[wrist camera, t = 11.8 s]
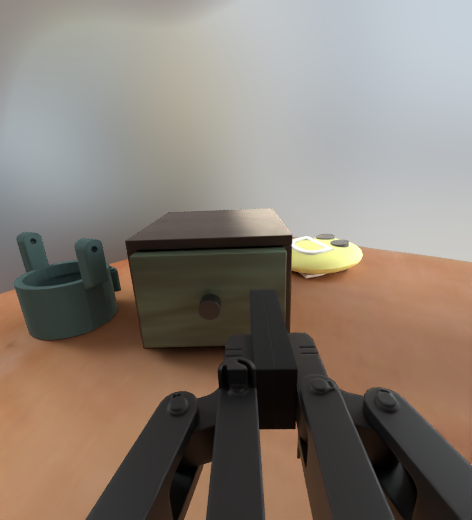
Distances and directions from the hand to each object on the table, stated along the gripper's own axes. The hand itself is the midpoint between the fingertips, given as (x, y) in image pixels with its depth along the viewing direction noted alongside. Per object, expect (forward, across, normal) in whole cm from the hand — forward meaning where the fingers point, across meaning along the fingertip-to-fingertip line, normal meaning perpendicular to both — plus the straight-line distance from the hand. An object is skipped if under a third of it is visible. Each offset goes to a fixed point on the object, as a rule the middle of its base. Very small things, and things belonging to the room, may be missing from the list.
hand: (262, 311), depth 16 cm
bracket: (+12, -19, -7) cm, 23 cm away
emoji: (+25, +10, -7) cm, 27 cm away
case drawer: (+10, -4, -6) cm, 12 cm away
